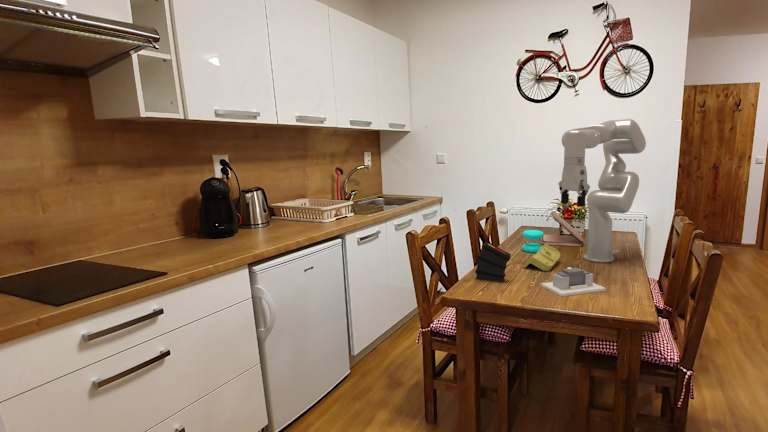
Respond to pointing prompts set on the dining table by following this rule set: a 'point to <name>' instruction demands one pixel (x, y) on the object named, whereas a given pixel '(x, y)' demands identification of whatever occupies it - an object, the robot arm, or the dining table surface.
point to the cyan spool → (534, 236)
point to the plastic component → (544, 258)
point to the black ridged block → (492, 263)
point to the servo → (573, 275)
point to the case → (563, 240)
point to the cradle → (562, 286)
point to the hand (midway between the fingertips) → (572, 204)
